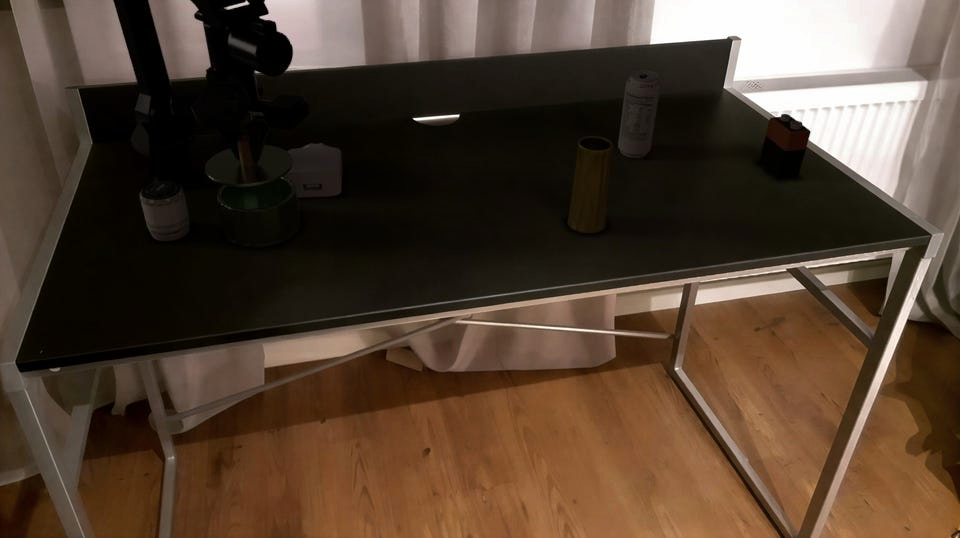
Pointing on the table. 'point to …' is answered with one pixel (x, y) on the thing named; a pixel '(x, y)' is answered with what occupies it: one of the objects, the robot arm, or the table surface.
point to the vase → (590, 185)
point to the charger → (316, 170)
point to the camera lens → (165, 210)
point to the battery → (784, 146)
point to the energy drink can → (639, 113)
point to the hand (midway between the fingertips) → (248, 160)
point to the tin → (259, 213)
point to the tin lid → (248, 165)
